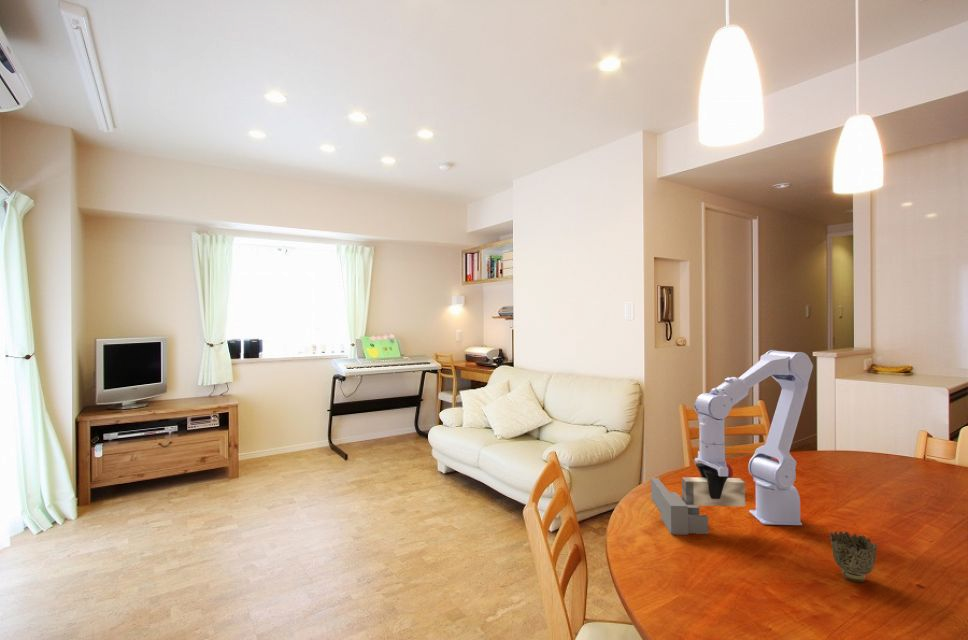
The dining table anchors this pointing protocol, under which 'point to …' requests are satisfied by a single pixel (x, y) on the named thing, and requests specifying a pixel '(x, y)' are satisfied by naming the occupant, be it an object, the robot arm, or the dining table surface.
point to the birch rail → (698, 494)
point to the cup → (853, 555)
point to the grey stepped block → (677, 511)
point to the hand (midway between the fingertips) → (712, 495)
